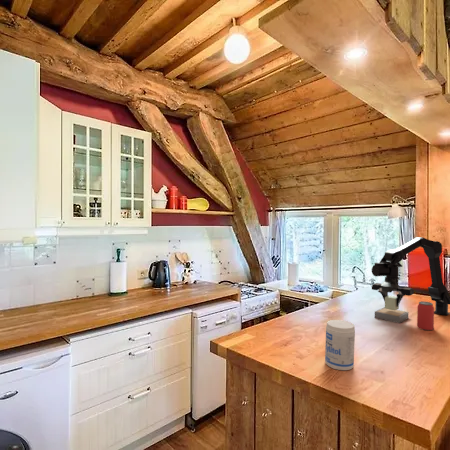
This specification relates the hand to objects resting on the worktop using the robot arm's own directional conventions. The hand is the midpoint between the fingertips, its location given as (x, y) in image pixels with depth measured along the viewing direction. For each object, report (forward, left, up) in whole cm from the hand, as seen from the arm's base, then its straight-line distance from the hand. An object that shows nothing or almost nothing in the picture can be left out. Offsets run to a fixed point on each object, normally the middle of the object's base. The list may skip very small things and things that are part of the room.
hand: (391, 305), depth 168 cm
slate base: (0, 0, -6) cm, 6 cm away
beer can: (+5, +17, -7) cm, 19 cm away
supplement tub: (+70, +9, -7) cm, 71 cm away
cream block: (0, 0, -2) cm, 2 cm away
